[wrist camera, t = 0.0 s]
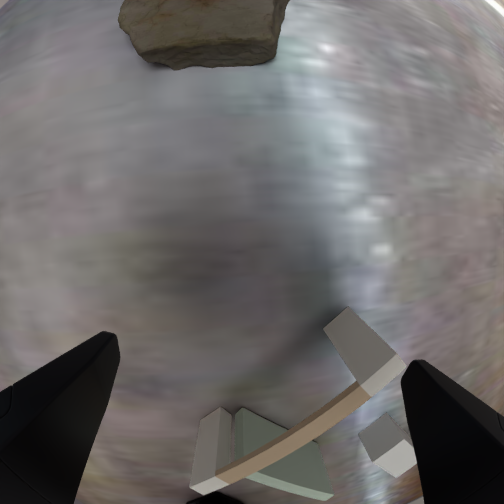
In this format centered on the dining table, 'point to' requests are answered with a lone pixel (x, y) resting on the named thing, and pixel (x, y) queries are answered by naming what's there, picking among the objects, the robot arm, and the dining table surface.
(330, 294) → the dining table surface
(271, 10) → the brown stone slab
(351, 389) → the wall frame
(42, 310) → the dining table surface
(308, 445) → the door
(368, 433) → the block
